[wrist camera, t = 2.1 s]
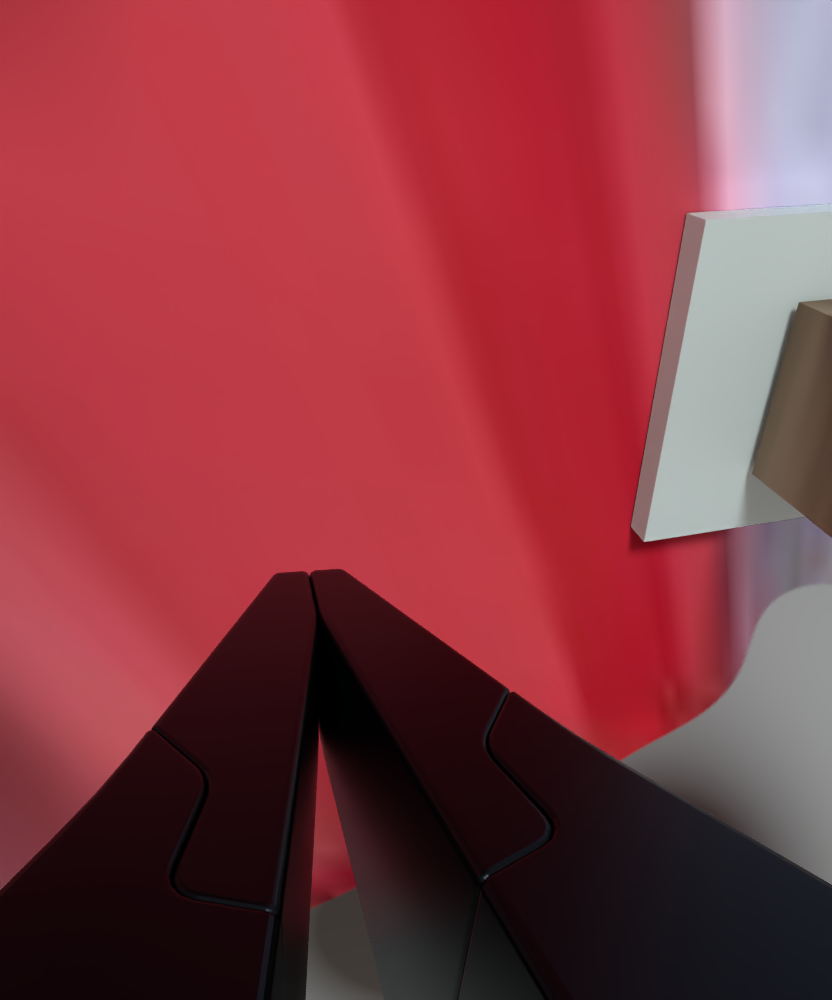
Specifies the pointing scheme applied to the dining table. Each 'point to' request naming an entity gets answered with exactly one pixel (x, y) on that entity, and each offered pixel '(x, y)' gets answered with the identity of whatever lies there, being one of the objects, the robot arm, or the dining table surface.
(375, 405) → the dining table surface
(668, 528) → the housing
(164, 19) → the dining table surface
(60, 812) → the dining table surface
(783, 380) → the brown wooden block
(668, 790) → the robot arm
